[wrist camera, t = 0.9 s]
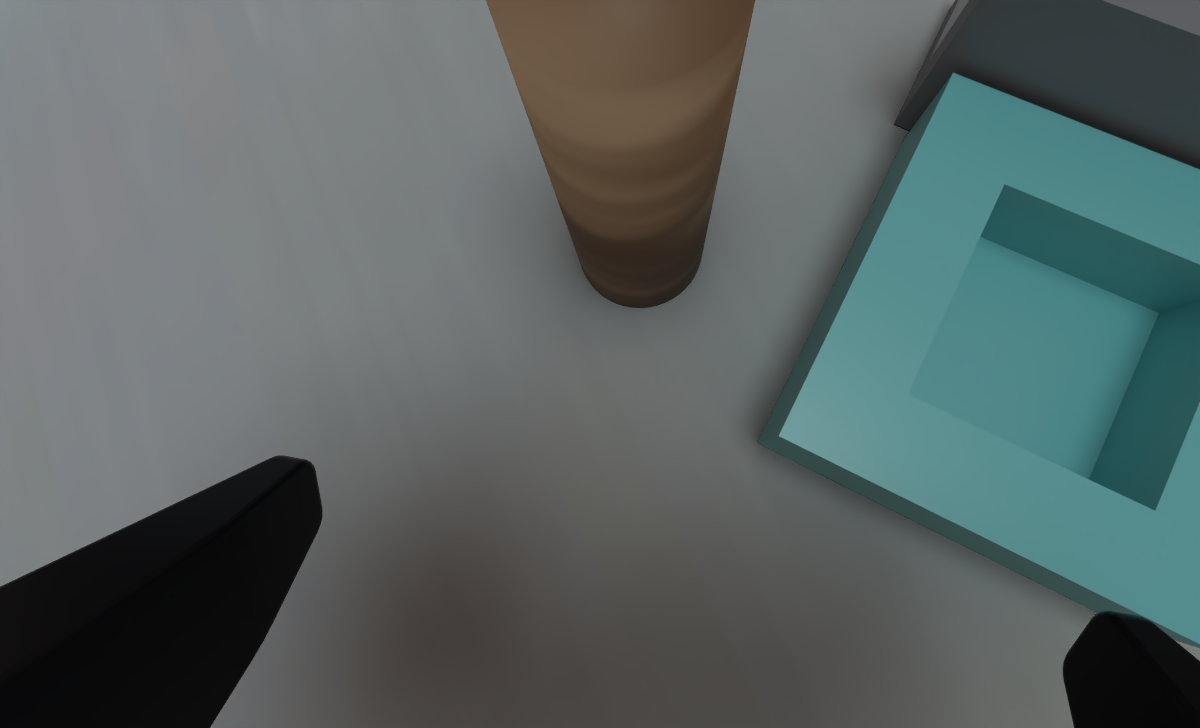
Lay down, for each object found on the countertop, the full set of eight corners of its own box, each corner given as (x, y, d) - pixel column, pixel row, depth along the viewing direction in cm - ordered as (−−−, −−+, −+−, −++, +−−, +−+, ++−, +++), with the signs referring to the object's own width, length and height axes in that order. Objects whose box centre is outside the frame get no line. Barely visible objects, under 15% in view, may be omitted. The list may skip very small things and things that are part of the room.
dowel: (640, 332, 22) (619, 145, 9) (554, 249, 22) (427, -28, 10) (728, 246, 22) (822, -51, 9) (640, 166, 22) (620, -207, 10)
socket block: (1107, 618, 19) (1222, 654, 15) (755, 443, 21) (778, 435, 17) (1243, 285, 21) (1382, 241, 17) (900, 143, 22) (953, 72, 18)
